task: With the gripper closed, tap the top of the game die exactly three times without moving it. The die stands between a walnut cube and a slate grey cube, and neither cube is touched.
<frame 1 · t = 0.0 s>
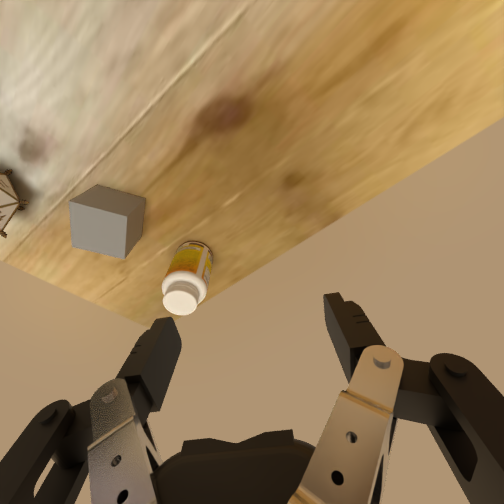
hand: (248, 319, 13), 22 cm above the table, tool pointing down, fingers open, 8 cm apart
supplement bottle: (195, 255, 37), on the table
slate cube: (121, 211, 33), on the table
game die: (7, 187, 31), on the table
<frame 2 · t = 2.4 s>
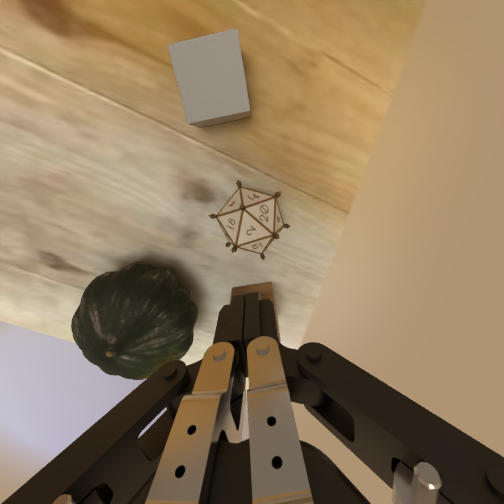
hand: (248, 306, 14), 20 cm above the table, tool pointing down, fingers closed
slate cube: (219, 92, 27), on the table
game die: (251, 212, 33), on the table
walnut cube: (255, 300, 38), on the table
squash: (155, 293, 38), on the table
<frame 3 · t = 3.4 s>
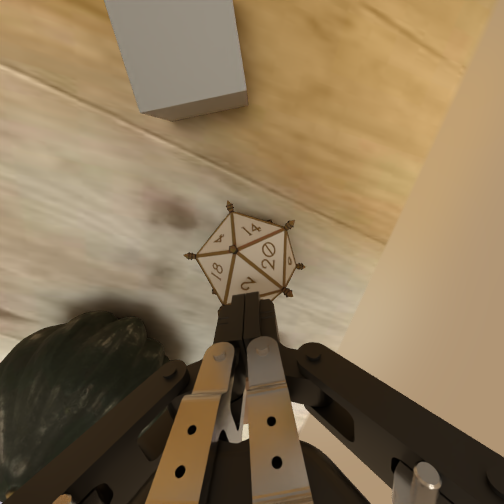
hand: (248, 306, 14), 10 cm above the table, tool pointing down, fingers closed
slate cube: (199, 66, 18), on the table
game die: (249, 241, 23), on the table
squash: (121, 344, 28), on the table
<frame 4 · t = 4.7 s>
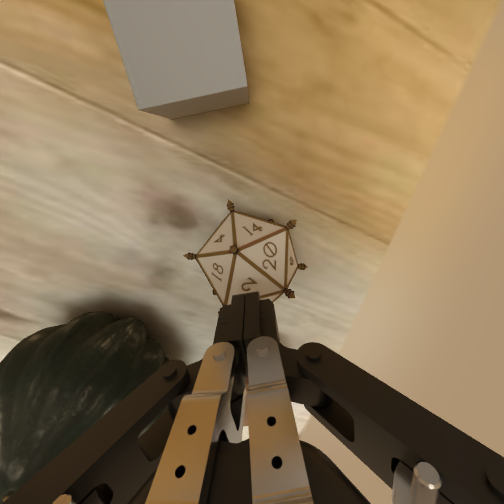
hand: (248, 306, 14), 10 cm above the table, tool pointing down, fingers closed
slate cube: (199, 63, 17), on the table
game die: (250, 241, 23), on the table
squash: (121, 345, 28), on the table
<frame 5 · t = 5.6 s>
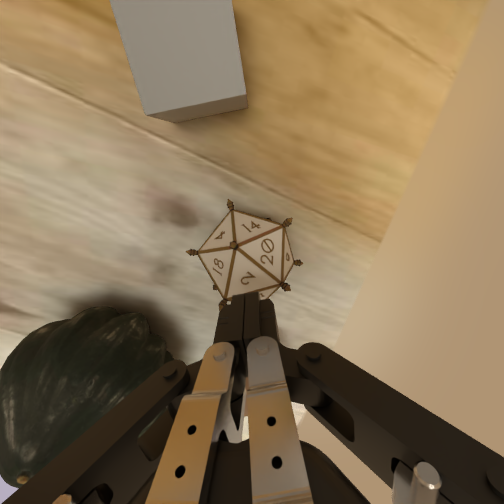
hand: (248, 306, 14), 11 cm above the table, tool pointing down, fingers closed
slate cube: (201, 70, 18), on the table
game die: (248, 239, 24), on the table
squash: (124, 340, 29), on the table
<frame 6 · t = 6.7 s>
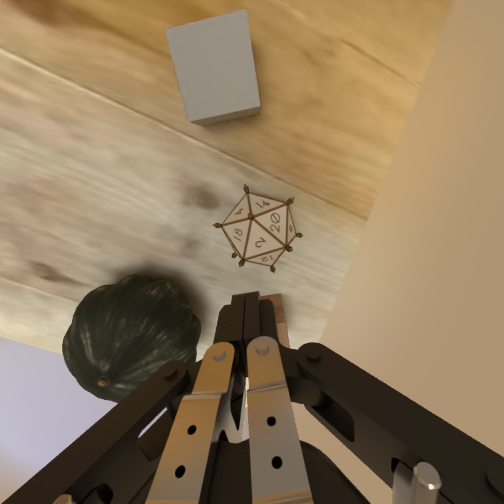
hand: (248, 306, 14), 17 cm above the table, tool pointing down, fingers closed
slate cube: (224, 86, 24), on the table
game die: (259, 219, 30), on the table
walnut cube: (263, 313, 35), on the table
squash: (155, 305, 35), on the table
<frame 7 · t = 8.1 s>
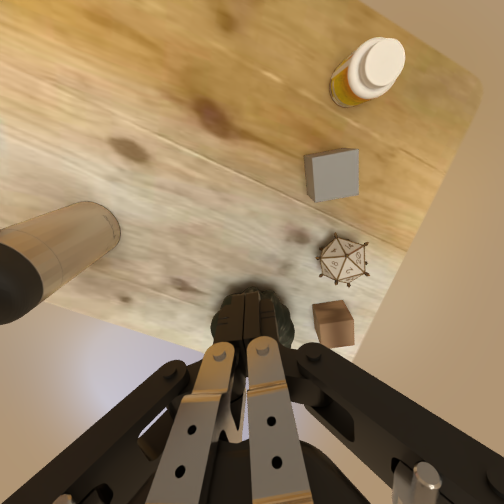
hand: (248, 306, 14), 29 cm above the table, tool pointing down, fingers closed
supplement bottle: (348, 84, 34), on the table
slate cube: (324, 172, 39), on the table
game die: (334, 250, 44), on the table
walnut cube: (328, 313, 50), on the table
squash: (252, 308, 50), on the table
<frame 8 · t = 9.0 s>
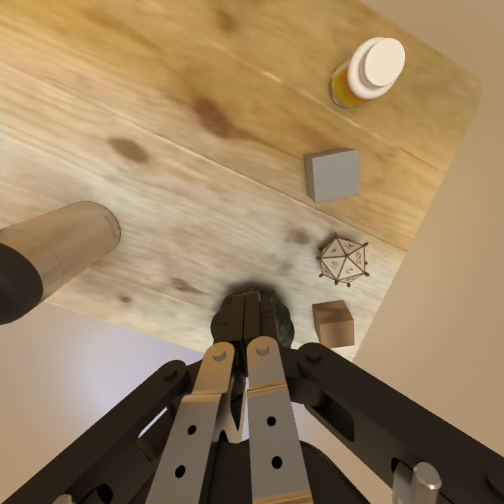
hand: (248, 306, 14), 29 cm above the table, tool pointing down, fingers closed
supplement bottle: (348, 85, 34), on the table
slate cube: (324, 172, 39), on the table
game die: (334, 250, 44), on the table
walnut cube: (328, 313, 50), on the table
squash: (252, 308, 50), on the table
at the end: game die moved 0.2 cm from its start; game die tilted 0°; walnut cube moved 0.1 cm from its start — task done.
